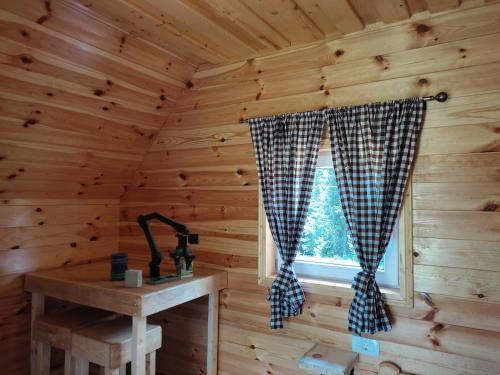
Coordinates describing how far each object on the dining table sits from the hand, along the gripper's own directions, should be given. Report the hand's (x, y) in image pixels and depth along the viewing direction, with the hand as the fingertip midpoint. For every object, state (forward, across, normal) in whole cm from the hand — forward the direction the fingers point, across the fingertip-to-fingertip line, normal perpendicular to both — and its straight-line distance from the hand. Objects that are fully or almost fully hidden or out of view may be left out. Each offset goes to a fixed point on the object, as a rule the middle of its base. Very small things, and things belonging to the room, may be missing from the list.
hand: (182, 269), depth 225 cm
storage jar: (+5, -21, -30) cm, 37 cm away
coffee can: (+4, -12, +12) cm, 18 cm away
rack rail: (+4, +2, -15) cm, 16 cm away
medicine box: (+5, 0, -33) cm, 34 cm away
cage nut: (+4, 0, 0) cm, 4 cm away
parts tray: (+4, 0, 0) cm, 4 cm away
